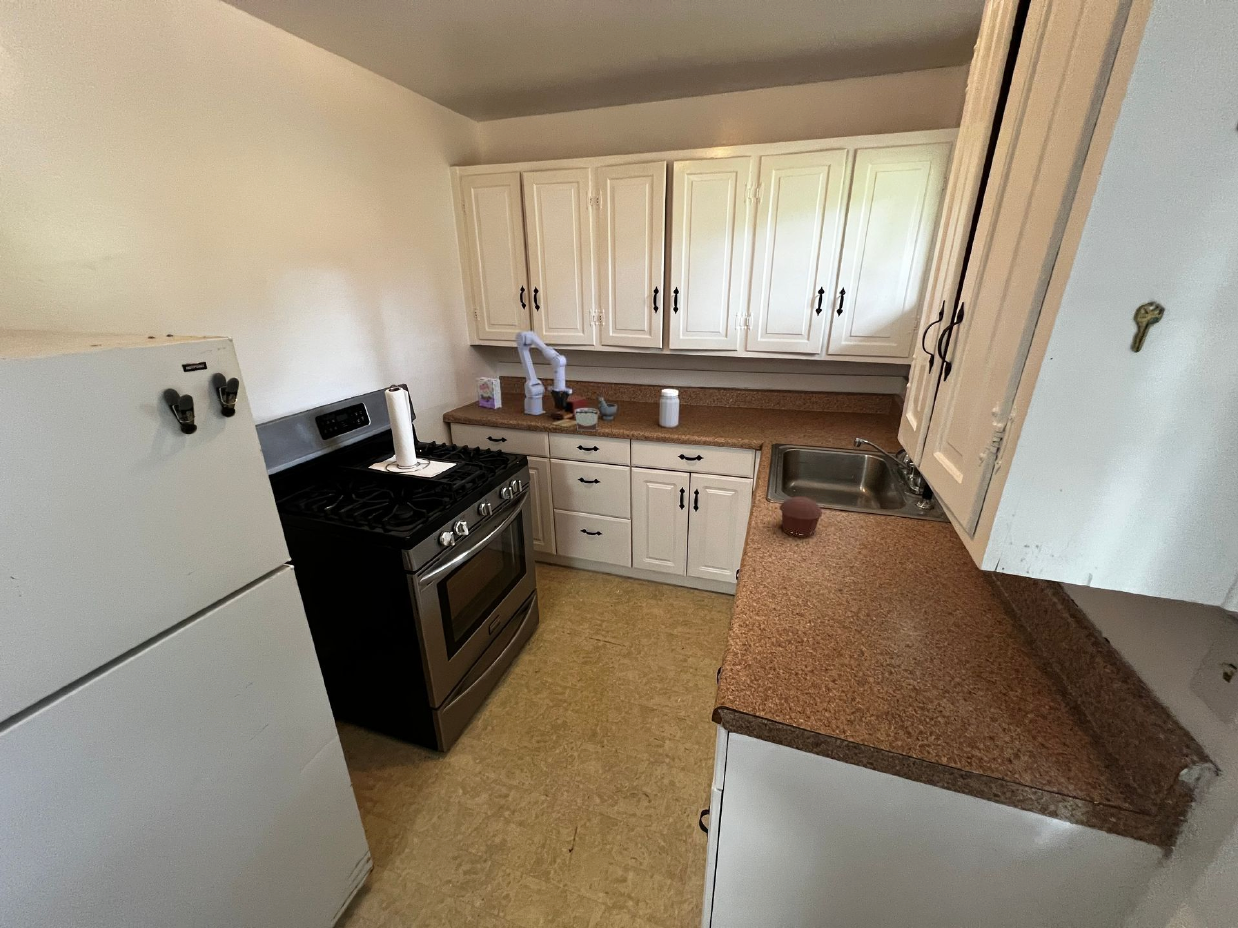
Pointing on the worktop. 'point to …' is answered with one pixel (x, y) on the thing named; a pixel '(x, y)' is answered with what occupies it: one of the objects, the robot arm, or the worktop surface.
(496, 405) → the candy box
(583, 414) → the food container
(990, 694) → the worktop surface
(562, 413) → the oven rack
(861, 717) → the worktop surface
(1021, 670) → the worktop surface
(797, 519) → the muffin
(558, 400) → the black weight
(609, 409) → the mortar and pestle
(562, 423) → the trivet
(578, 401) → the dark red block
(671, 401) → the jar
